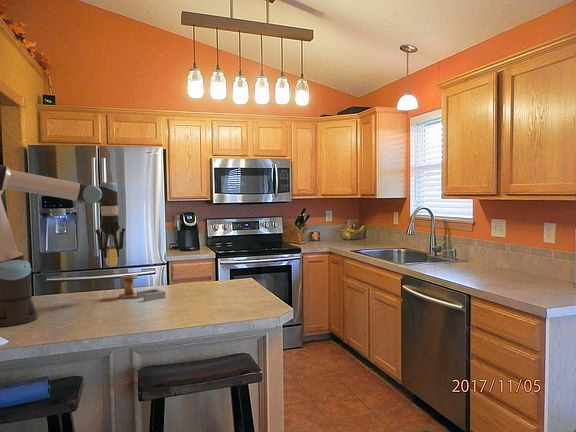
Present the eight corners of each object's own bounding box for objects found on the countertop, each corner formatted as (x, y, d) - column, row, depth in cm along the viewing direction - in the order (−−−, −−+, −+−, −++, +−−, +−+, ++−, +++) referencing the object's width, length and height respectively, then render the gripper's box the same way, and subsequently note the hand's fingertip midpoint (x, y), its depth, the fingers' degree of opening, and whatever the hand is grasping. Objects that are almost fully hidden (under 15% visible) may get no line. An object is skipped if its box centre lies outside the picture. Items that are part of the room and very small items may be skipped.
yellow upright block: (109, 266, 195) (109, 247, 195) (106, 265, 199) (106, 246, 199) (116, 265, 197) (115, 246, 197) (113, 264, 201) (112, 245, 200)
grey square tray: (145, 301, 193) (144, 294, 193) (137, 297, 201) (136, 291, 201) (165, 297, 200) (165, 291, 200) (157, 294, 207) (156, 288, 207)
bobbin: (122, 299, 197) (122, 278, 196) (116, 296, 204) (115, 276, 203) (141, 296, 203) (141, 276, 202) (134, 293, 210) (134, 273, 209)
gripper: (93, 215, 189) (95, 267, 190) (129, 214, 199) (131, 263, 200) (89, 215, 195) (91, 265, 196) (124, 214, 205) (126, 261, 206)
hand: (111, 264), depth 198 cm, fingers closed on yellow upright block, 3 cm apart
